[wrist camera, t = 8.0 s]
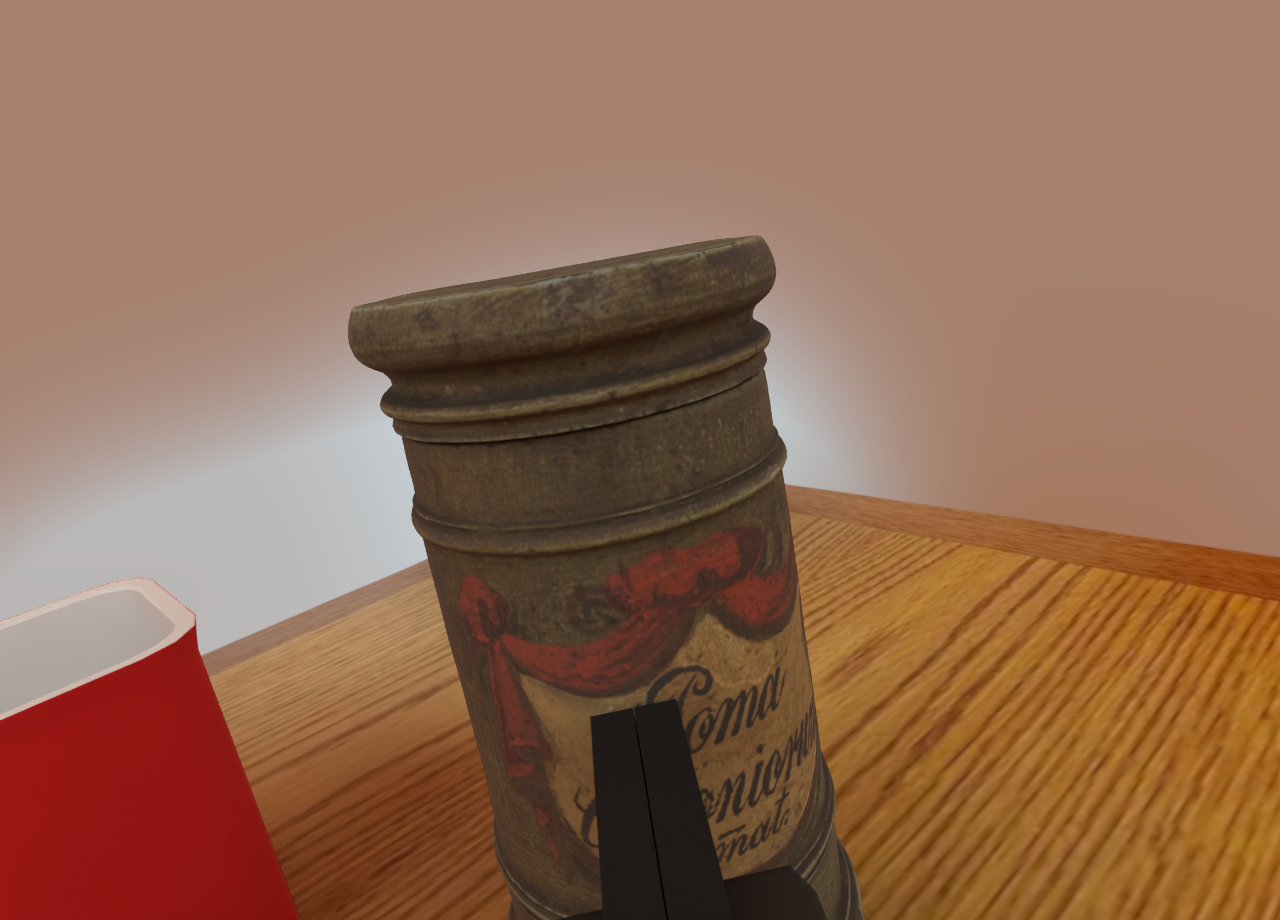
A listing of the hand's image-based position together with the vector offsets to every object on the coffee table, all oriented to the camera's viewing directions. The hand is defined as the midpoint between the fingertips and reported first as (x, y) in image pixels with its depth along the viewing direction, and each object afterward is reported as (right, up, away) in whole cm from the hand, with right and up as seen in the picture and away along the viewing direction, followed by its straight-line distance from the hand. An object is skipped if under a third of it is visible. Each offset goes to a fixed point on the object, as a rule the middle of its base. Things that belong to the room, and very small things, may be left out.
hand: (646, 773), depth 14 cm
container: (+1, -8, +6) cm, 10 cm away
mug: (-16, -10, +11) cm, 22 cm away
